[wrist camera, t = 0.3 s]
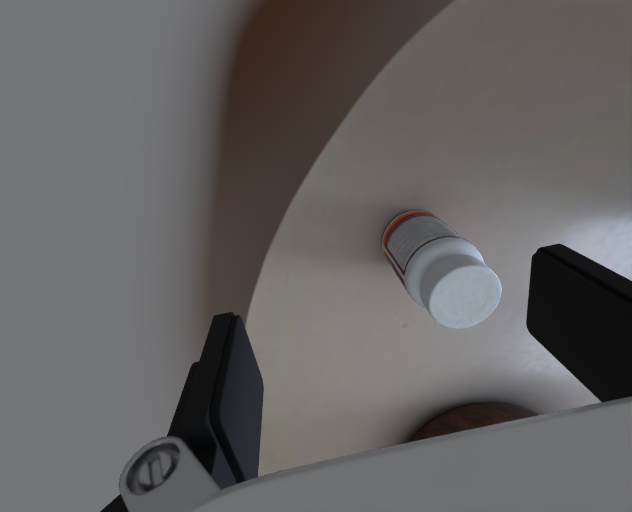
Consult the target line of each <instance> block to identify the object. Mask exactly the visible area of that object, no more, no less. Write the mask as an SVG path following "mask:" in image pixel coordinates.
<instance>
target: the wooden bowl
mask: <svg viewBox="0 0 632 512" xmlns="http://www.w3.org/2000/svg"><path fill="white" fill-rule="evenodd" d="M533 416H538V414H536V413H534V412H532V411H530V410H528V409H525V408H522V407H519V406H516V405H512V404H507V403H494V402H488V403H477V404H471V405H467V406H463V407H460V408H456V409H454V410H451V411H449V412H446V413H444V414H442V415H440V416H439V417H437V418H435V419H433V420H432V421H430V422H429V423H428V424H426V425H425V426H424V427H423V428H421V429H420V430H419V431H418V432H417V433H416V434H415V435H414V437H413V438H412V439H411V440H410V442H413V441H418V440H423V439H427V438H432V437H437V436H442V435H446V434H451V433H456V432H461V431H465V430H470V429H475V428H480V427H485V426H489V425H494V424H499V423H504V422H509V421H514V420H518V419H523V418H528V417H533Z"/></svg>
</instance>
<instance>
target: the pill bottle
mask: <svg viewBox="0 0 632 512" xmlns="http://www.w3.org/2000/svg"><path fill="white" fill-rule="evenodd" d="M382 249H383V252H384V255H385V257H386V259H387V260H388V262H389V264H390V265H391V266H392V268H393V270H394V271H395V273H396V274H397V276H398V278H399V279H400V281H401V282H402V284H403V285H404V287H405V289H406V290H407V292H408V294H409V295H410V296H411V298H412V299H413V300H414V301H415V302H416V303H417V304H418V305H420V306H422V307H424V308H426V309H427V310H428V311H429V313H430V315H431V316H432V317H433V319H434V320H435V321H436V322H438V323H439V324H441V325H442V326H445V327H448V328H453V329H461V328H467V327H471V326H473V325H476V324H478V323H480V322H481V321H483V320H484V319H486V318H487V317H488V316H489V315H490V314H491V313H492V312H493V311H494V310H495V308H496V306H497V305H498V303H499V300H500V297H501V283H500V280H499V278H498V277H497V275H496V274H495V273H494V272H493V271H492V270H491V269H490V268H489V267H488V266H487V265H485V264H484V260H483V258H482V256H481V254H480V252H479V251H478V250H477V249H476V248H475V247H474V246H473V245H472V244H471V243H470V242H469V241H467V240H466V239H464V238H463V237H462V236H460V235H459V234H458V233H457V232H455V231H454V230H453V229H451V228H450V227H449V226H448V225H446V224H445V223H444V222H442V221H441V220H440V219H438V218H437V217H436V216H434V215H433V214H431V213H428V212H426V211H420V210H415V211H408V212H405V213H403V214H401V215H399V216H397V217H396V218H395V219H394V220H393V221H392V222H391V223H390V224H389V225H388V227H387V228H386V230H385V232H384V235H383V239H382Z"/></svg>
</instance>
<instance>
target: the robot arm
mask: <svg viewBox="0 0 632 512" xmlns="http://www.w3.org/2000/svg"><path fill="white" fill-rule="evenodd" d="M526 324H527V328H528V331H529V332H530V334H531V335H532V336H533V337H534V338H535V339H536V340H537V341H538V342H540V343H541V344H542V345H543V346H544V347H545V348H546V349H547V350H548V351H549V352H550V353H551V354H552V355H553V356H554V357H555V358H556V359H557V360H558V361H559V362H560V363H561V364H563V365H564V366H565V367H566V368H567V369H568V370H569V371H570V372H571V373H572V374H573V375H574V376H575V377H576V378H577V379H578V380H579V381H580V382H581V383H582V384H583V385H584V386H586V387H587V388H588V389H589V390H590V391H591V392H592V393H593V394H594V395H595V396H596V397H597V398H598V399H599V400H600V401H601V402H602V403H597V404H592V405H587V406H582V407H577V408H572V409H567V410H562V411H557V412H552V413H547V414H543V415H538V416H533V417H528V418H523V419H518V420H514V421H509V422H504V423H499V424H494V425H489V426H485V427H480V428H475V429H470V430H465V431H461V432H456V433H451V434H446V435H442V436H437V437H432V438H427V439H423V440H418V441H413V442H409V443H404V444H399V445H395V446H390V447H385V448H381V449H376V450H371V451H367V452H362V453H357V454H353V455H348V456H343V457H339V458H334V459H330V460H326V461H321V462H317V463H313V464H308V465H304V466H300V467H296V468H291V469H287V470H283V471H278V472H275V473H271V474H268V475H264V476H261V477H258V465H259V450H260V436H261V421H262V406H263V391H264V387H263V380H262V376H261V373H260V371H259V368H258V365H257V362H256V359H255V356H254V353H253V350H252V347H251V344H250V341H249V338H248V335H247V332H246V329H245V326H244V323H243V320H242V318H241V316H240V315H237V316H235V314H234V313H233V312H229V313H225V314H219V315H215V316H214V317H213V320H212V323H211V326H210V330H209V333H208V336H207V339H206V342H205V345H204V348H203V352H202V355H201V358H200V361H199V362H195V363H193V364H192V366H191V368H190V371H189V374H188V377H187V380H186V383H185V385H184V388H183V391H182V394H181V397H180V400H179V403H178V406H177V409H176V412H175V415H174V417H173V420H172V423H171V426H170V429H169V432H168V435H167V437H161V438H159V439H156V440H154V441H152V442H150V443H148V444H147V445H145V446H144V447H142V448H141V449H140V450H139V451H138V452H136V453H135V454H134V455H133V456H132V458H131V459H130V460H129V461H128V463H127V464H126V465H125V467H124V469H123V471H122V473H121V476H120V480H119V490H120V495H119V496H118V497H117V498H115V499H114V500H113V501H112V502H111V503H110V504H108V505H107V506H106V507H105V508H104V509H103V510H102V511H101V512H632V281H630V280H629V279H627V278H625V277H623V276H621V275H619V274H617V273H615V272H613V271H612V270H610V269H608V268H606V267H604V266H602V265H600V264H598V263H596V262H594V261H593V260H591V259H589V258H587V257H585V256H583V255H581V254H579V253H577V252H575V251H574V250H572V249H570V248H568V247H566V246H564V245H562V244H555V245H551V246H546V247H541V248H539V249H538V250H537V252H536V253H535V254H534V255H533V256H532V263H531V275H530V286H529V298H528V310H527V321H526Z"/></svg>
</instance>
